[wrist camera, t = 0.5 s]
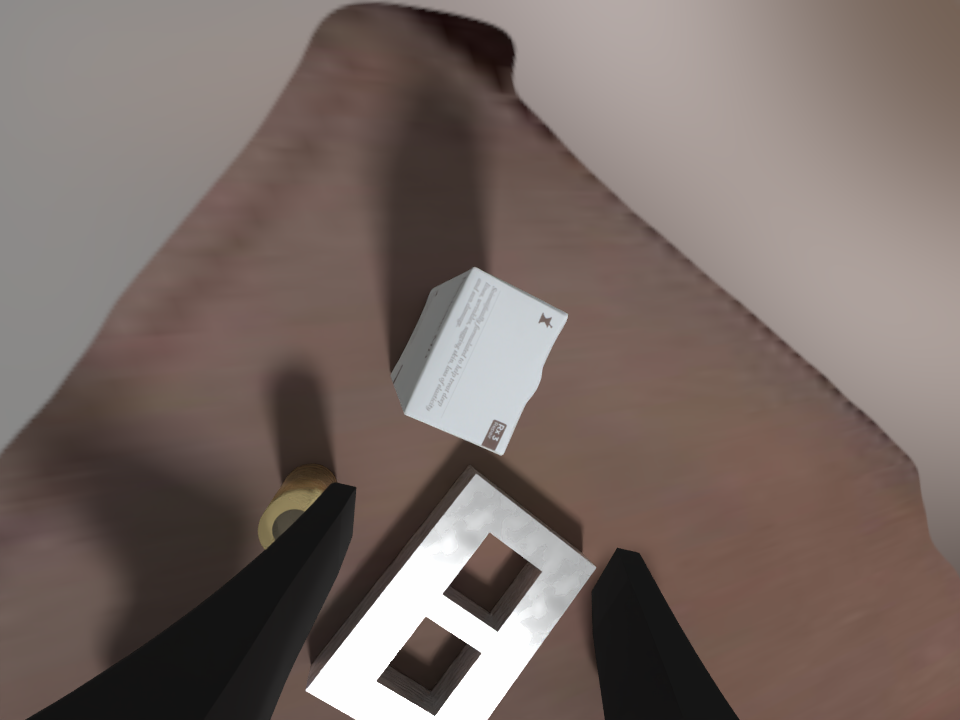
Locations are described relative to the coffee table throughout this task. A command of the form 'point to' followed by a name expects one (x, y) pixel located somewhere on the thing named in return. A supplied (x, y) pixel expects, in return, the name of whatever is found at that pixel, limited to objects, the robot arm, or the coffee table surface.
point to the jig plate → (451, 612)
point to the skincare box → (476, 358)
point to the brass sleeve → (293, 500)
